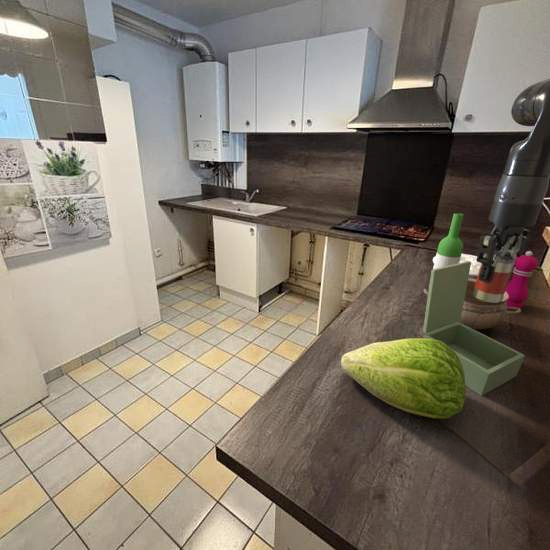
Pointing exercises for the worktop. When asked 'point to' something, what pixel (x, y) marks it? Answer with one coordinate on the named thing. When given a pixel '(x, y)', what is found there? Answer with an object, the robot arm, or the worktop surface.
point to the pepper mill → (520, 280)
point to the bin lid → (446, 296)
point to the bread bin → (480, 356)
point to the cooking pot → (482, 309)
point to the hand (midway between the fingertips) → (492, 278)
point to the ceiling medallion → (474, 264)
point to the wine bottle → (450, 245)
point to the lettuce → (410, 375)
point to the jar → (495, 282)
